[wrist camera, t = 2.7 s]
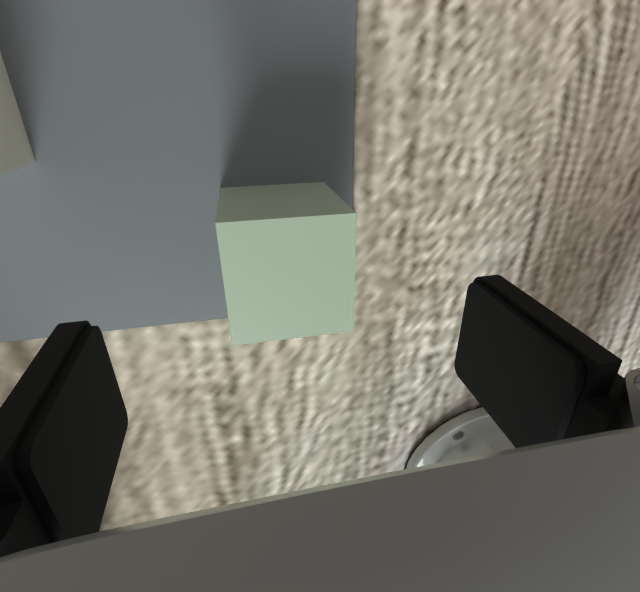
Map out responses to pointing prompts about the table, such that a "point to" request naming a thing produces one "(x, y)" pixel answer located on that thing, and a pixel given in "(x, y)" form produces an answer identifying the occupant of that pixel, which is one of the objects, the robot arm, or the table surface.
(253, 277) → the sage block
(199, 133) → the board
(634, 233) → the table surface
